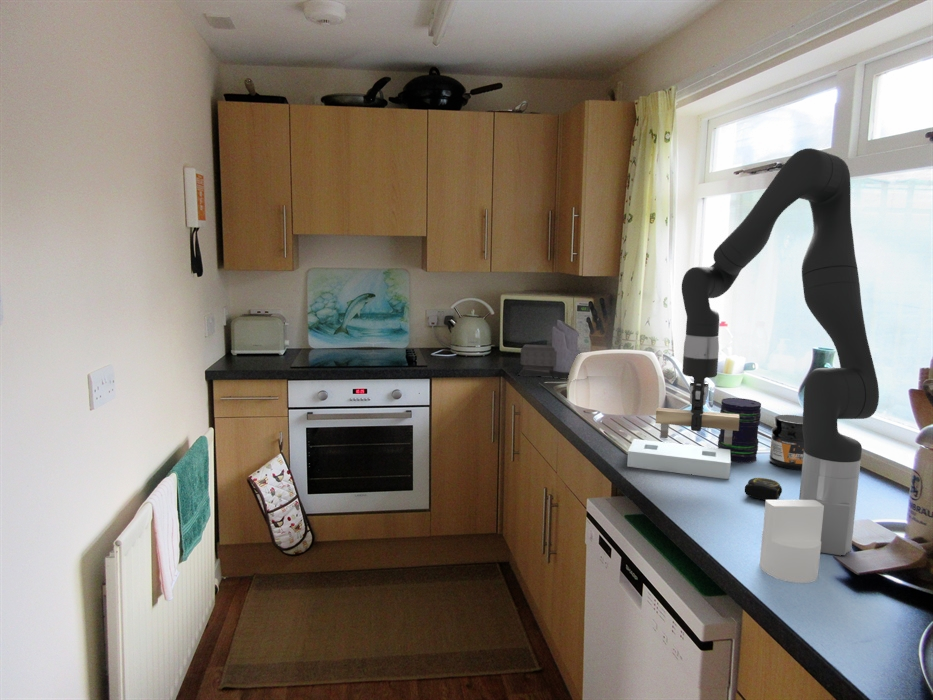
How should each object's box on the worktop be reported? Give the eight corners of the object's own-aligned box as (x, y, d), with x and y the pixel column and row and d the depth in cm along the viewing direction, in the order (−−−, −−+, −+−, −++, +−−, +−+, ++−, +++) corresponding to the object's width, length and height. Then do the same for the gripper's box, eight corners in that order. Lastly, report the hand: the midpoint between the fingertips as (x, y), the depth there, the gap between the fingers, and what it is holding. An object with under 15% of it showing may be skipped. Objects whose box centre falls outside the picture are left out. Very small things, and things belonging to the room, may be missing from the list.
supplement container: (768, 466, 170) (772, 421, 168) (769, 455, 180) (773, 412, 178) (814, 473, 166) (819, 426, 164) (813, 461, 175) (818, 417, 173)
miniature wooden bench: (737, 445, 151) (739, 417, 150) (654, 437, 157) (656, 410, 156) (736, 442, 154) (738, 414, 153) (655, 434, 160) (657, 407, 159)
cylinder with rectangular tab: (800, 558, 119) (806, 493, 117) (829, 583, 110) (836, 513, 109) (750, 558, 119) (755, 493, 117) (775, 583, 110) (781, 513, 108)
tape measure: (742, 498, 148) (743, 482, 148) (752, 490, 153) (753, 474, 153) (775, 506, 144) (776, 489, 143) (784, 497, 149) (785, 481, 149)
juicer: (588, 374, 296) (590, 319, 293) (587, 380, 281) (590, 322, 277) (520, 370, 302) (522, 316, 298) (516, 377, 286) (517, 320, 283)
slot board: (729, 479, 160) (730, 463, 160) (627, 466, 169) (628, 451, 168) (729, 464, 171) (730, 449, 171) (633, 453, 180) (633, 438, 179)
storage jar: (714, 458, 176) (718, 403, 174) (719, 449, 185) (723, 396, 183) (755, 465, 172) (760, 408, 169) (758, 455, 180) (763, 400, 178)
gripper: (718, 360, 145) (713, 437, 147) (718, 352, 158) (713, 423, 161) (682, 357, 148) (677, 434, 150) (684, 350, 161) (680, 420, 163)
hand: (696, 428), depth 155 cm, fingers closed on miniature wooden bench, 3 cm apart
